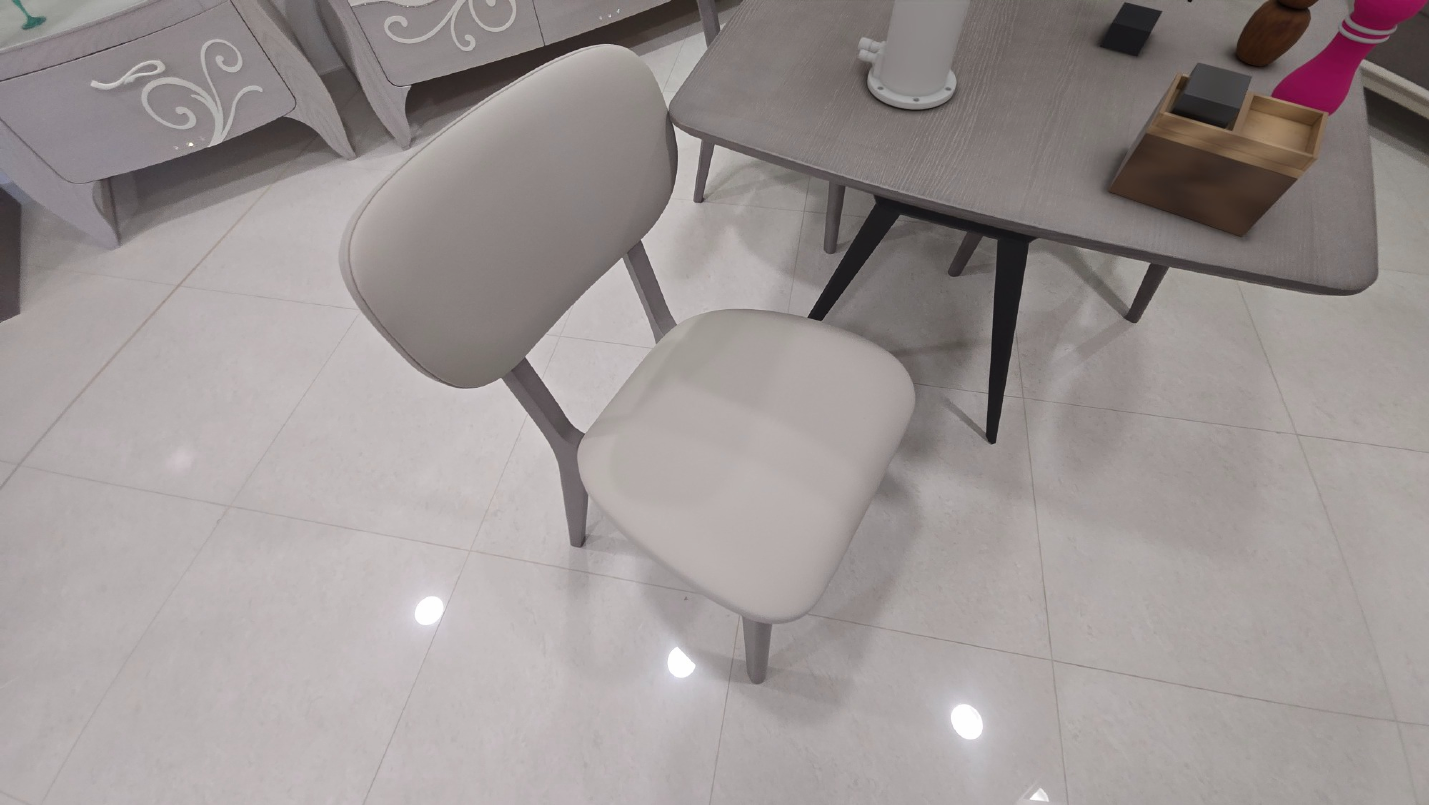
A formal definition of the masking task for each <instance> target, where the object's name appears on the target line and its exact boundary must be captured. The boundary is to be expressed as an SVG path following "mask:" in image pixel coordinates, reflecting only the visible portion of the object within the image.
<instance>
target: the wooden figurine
mask: <svg viewBox="0 0 1429 805" xmlns="http://www.w3.org/2000/svg"><path fill="white" fill-rule="evenodd" d="M1318 1H1319V0H1267V1H1265V2H1263V3H1262V4H1261V6H1259V7H1258V8H1257V9H1256V10H1255V11H1254V12H1253V14H1252V15H1251V17H1249V18H1248V20H1247V22H1246V23H1245V25H1244V26H1243V29H1242V30H1241V32H1240V34H1239V36H1238V38H1237V39H1238V40H1237V42H1236V48H1235V53H1236V56H1237V58H1238V59H1239V60H1241V61H1242V62H1243V63H1245V64H1248V65H1251V66H1256V67H1264V66H1266V65H1270V64H1272V63H1274V62H1275V61H1276V60H1278V59H1279V58H1280V57H1282V56H1284V55H1285V54H1286V53H1287V52H1288V51H1290V50H1291V49H1292V47H1294V46H1295V45H1296V44H1297V43H1298V41H1299V40H1300V39H1301V38H1302V37H1303V35H1304V34H1305V32H1306V31H1307V30H1308V28H1309V26H1310V23H1311V20H1312V13H1311V10H1310V8H1311V7H1312V6H1314V5H1315V4H1316V3H1317V2H1318Z"/></svg>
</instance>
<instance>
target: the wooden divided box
mask: <svg viewBox="0 0 1429 805" xmlns="http://www.w3.org/2000/svg"><path fill="white" fill-rule="evenodd" d="M1252 78H1253V76H1252V75H1249V74H1245V73H1241V72H1237V71H1233V70H1229V69H1226V68H1222V67H1219V66H1215V65H1210V64H1206V63H1204V62H1197V63H1196V64H1195V66H1194V67H1193V69H1192V71H1191V72H1190V74H1186V73H1182V72H1177V73H1176V75H1175V77H1174V78H1173V80H1172V81H1171V82H1170V85H1169V86H1168V87H1167V89H1166V90H1165V92H1164V94H1163V95H1162V97H1161V99H1160V100H1159V102H1158V103H1157V105H1156V107H1155V108H1154V109H1153V111H1152V113H1151V114H1150V116H1149V117H1148V119H1147V120H1146V122H1145V123H1144V125H1143V127H1142V128H1141V130H1140V131H1139V133H1138V134H1137V136H1136V138H1134V141H1133V142H1132V144H1131V146H1130V147H1129V148H1128V150H1127V152H1126V154H1125V156H1124V158H1123V159H1122V162H1121V164H1120V166H1119V168H1118V169H1117V171H1116V174H1115V176H1114V178H1113V180H1112V182H1111V184H1110V186H1109V188H1108V190H1107V191H1108V192H1109V193H1111V194H1115V195H1118V196H1120V197H1123V198H1127V199H1129V200H1133V201H1136V202H1137V203H1138V202H1139V203H1142V204H1144V205H1147V206H1150V207H1154V208H1156V209H1158V210H1162V211H1165V212H1168V213H1171V214H1174V215H1176V216H1179V217H1183V218H1186V219H1189V220H1191V221H1194V222H1197V223H1200V224H1203V225H1206V226H1209V227H1212V228H1215V229H1217V230H1221V231H1223V232H1227V233H1230V234H1232V235H1235V236H1239V237H1244V236H1245V235H1246V234H1247V233H1248V232H1249V231H1250V230H1251V229H1252V228H1253V227H1254V226H1255V225H1256V224H1257V222H1259V221H1260V219H1261V218H1262V217H1264V215H1265V214H1266V213H1268V212H1269V210H1270V209H1272V207H1273V206H1274V205H1275V204H1276V203H1277V202H1278V201H1279V200H1280V199H1281V198H1282V197H1283V196H1284V195H1285V193H1287V191H1288V190H1290V189H1291V187H1293V185H1294V184H1295V183H1296V182H1297V181H1298V180H1299V179H1300V178H1301V177H1302V176H1303V175H1304V174H1305V173H1306V172H1307V170H1309V169H1310V168H1311V167H1312V166H1313V165H1314V164H1315V163H1316V161H1317V160H1318V159H1319V157H1320V156H1319V155H1320V151H1321V147H1322V142H1323V139H1324V134H1325V131H1326V126H1327V123H1328V119H1329V116H1328V115H1329V113H1328V112H1324V111H1321V110H1317V109H1313V108H1309V107H1306V106H1302V105H1298V104H1294V103H1291V102H1287V101H1283V100H1280V99H1276V98H1272V97H1271V96H1268V95H1264V94H1260V93H1258V92H1253V91H1250V90H1248V89H1249V88H1250V84H1251V82H1252Z"/></svg>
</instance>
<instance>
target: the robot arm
mask: <svg viewBox="0 0 1429 805" xmlns="http://www.w3.org/2000/svg"><path fill="white" fill-rule="evenodd" d="M1186 1H1187V3H1191V4H1192V2H1193V0H1186ZM971 2H972V0H894V3H893V8H892V13H891V17H890V22H889V26H888V32H887V36H886V40H882V41H881V42H879V41H876V40H874V39H872V38H868V37H865V36H862V37H861V38H860V40H859V41H858V46H857V52H859V53H858V56H857V59H858V61H861V62H865V63H870V64H871V67H870V69H869V71H868V75H867V80H866V82H867V83H866V85H867V87H868V90H869V91H870V93H871V94H872V95H873V96H874V97H875V98H876V99H878V100H879V101H881V102H882V103H884V104H886V105H888V106H892V107H894V108H899V109H904V110H925V109H926V110H927V109H932V108H936V107H938V106H941V105H944V103H946V102H947V101H949V100H950V99H951V98H953V95H954V94H955V91H956V87H957V76H956V75H955V73H954V72H953V70H952V69H951V67H952V63H953V60H954V57H955V54H956V50H957V47H958V45H959V44H958V43H959V42H960V37H961V34H962V31H963V28H964V24H965V22H966V17H967V14H968V12H969V9H970V5H971Z"/></svg>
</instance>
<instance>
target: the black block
mask: <svg viewBox="0 0 1429 805" xmlns="http://www.w3.org/2000/svg"><path fill="white" fill-rule="evenodd" d="M1163 12H1164V11H1163V10H1159V9H1155V8H1151V7H1147V6H1143V5H1139V4H1135V3H1130V2H1126V1H1124V3H1123V4H1122V6H1121V7H1120V9H1119V10H1118V11H1117V13H1116V15H1115V17H1114V19H1113V20H1112V22H1111V23H1110V25H1109V26H1108V27H1109V28H1108V29H1107V31H1106V33H1105V35H1104V37H1103V39H1102V41H1101V43H1100V45H1099V47H1101V48H1105V49H1109V50H1112V51H1115V52H1119V53H1123V54H1127V55H1131V56H1135V57H1139V55H1140V53H1141V51H1142V49H1143V48H1144V46H1145V44H1146V42H1147V40H1148V39H1149V37H1150V35H1151V33H1152V32H1153V30H1154V29H1155V26H1156V24H1157V22H1158V21H1159V20H1160V17H1161V16H1162V13H1163Z"/></svg>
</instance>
